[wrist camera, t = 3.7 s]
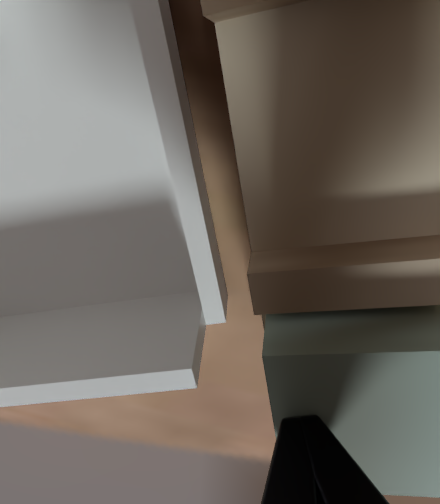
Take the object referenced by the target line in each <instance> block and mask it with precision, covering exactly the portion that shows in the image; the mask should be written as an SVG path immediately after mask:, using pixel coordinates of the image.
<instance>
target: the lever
mask: <svg viewBox="0 0 440 504" xmlns="http://www.w3.org/2000/svg"><path fill="white" fill-rule="evenodd" d="M200 2H201V8H202V13H203V16H204V17H206V18H207V19H209V20H211V21H212V22H214V23H215V29H216V35H217V41H218V47H219V53H220V60H221V66H222V72H223V78H224V84H225V91H226V97H227V103H228V109H229V115H230V122H231V128H232V134H233V140H234V146H235V152H236V159H237V165H238V171H239V177H240V183H241V190H242V196H243V202H244V208H245V214H246V221H247V227H248V233H249V239H250V245H251V251H252V253H251V257H250V262H249V267H248V272H247V276H248V282H249V287H250V293H251V299H252V305H253V311H254V315H261V314H262V320H263V326H264V342H263V352H262V358H263V364H264V370H265V376H266V382H267V387H268V393H269V399H270V405H271V411H272V417H273V423H274V429H275V434H276V439H277V435H278V431H279V426H280V422H281V420H282V419H283V418H289V417H300V416H305V415H313V414H315V415H318V416H319V417H320V418H321V419H322V420H323V422H324V423H325V424H326V425H327V427H328V428H329V429H330V430H331V431H332V433H333V434H334V435H335V436H336V438H337V439H338V440H339V441H340V443H341V444H342V445H343V446H344V448H345V449H346V450H347V451H348V453H349V454H350V455H351V456H352V458H353V459H354V460H355V461H356V463H357V464H358V465H359V466H360V468H361V469H362V470H363V471H364V473H365V474H366V475H367V476H368V478H369V479H370V480H371V481H372V483H373V484H374V485H375V486H376V488H377V489H378V490H379V491H380V493H381V494H382V495H400V496H420V497H439V498H440V0H200Z"/></svg>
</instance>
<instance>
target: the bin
mask: <svg viewBox="0 0 440 504" xmlns="http://www.w3.org/2000/svg"><path fill="white" fill-rule="evenodd" d="M227 299H228V294H227V289H226V284H225V279H224V274H223V269H222V265H221V260H220V255H219V250H218V245H217V240H216V235H215V230H214V225H213V220H212V215H211V210H210V205H209V200H208V195H207V190H206V185H205V180H204V175H203V170H202V165H201V160H200V155H199V150H198V145H197V140H196V136H195V131H194V126H193V121H192V116H191V111H190V106H189V101H188V96H187V91H186V86H185V81H184V76H183V71H182V66H181V61H180V56H179V51H178V46H177V41H176V36H175V31H174V26H173V21H172V16H171V11H170V6H169V2H168V0H0V407H7V406H17V405H27V404H37V403H48V402H58V401H68V400H79V399H89V398H99V397H110V396H120V395H130V394H140V393H151V392H161V391H171V390H182V389H192V388H197V384H198V377H199V370H200V363H201V357H202V350H203V343H204V336H205V329H206V325H208V324H217V323H225V322H226V314H227Z"/></svg>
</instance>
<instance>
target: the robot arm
mask: <svg viewBox="0 0 440 504" xmlns="http://www.w3.org/2000/svg"><path fill="white" fill-rule="evenodd" d="M261 504H389V503H388V502H387V500H386V499H385V498H384V496H383V495H382V494H381V493H380V491H379V490H378V489H377V488H376V486H375V485H374V484H373V483H372V481H371V480H370V479H369V478H368V476H367V475H366V474H365V473H364V471H363V470H362V469H361V468H360V466H359V465H358V464H357V463H356V461H355V460H354V459H353V458H352V456H351V455H350V454H349V453H348V451H347V450H346V449H345V448H344V446H343V445H342V444H341V443H340V441H339V440H338V439H337V438H336V436H335V435H334V434H333V433H332V431H331V430H330V429H329V428H328V427H327V425H326V424H325V423H324V422H323V420H322V419H321V418H320V417H319V416H318V415H315V414H313V415H305V416H300V417H289V418H283V419H282V420H281V422H280V426H279V431H278V435H277V439H276V443H275V447H274V451H273V456H272V460H271V464H270V468H269V472H268V476H267V481H266V485H265V489H264V493H263V497H262V501H261Z"/></svg>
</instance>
